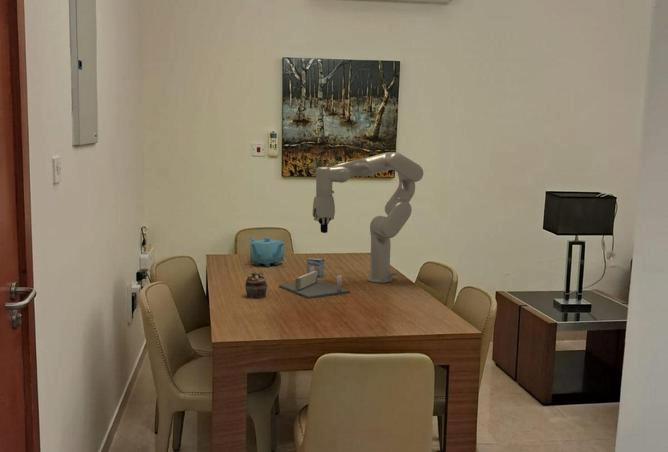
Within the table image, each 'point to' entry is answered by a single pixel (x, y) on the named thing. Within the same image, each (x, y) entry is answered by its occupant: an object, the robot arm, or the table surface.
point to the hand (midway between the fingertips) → (324, 232)
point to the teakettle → (266, 251)
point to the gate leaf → (305, 280)
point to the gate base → (317, 288)
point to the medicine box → (316, 266)
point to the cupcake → (256, 286)
